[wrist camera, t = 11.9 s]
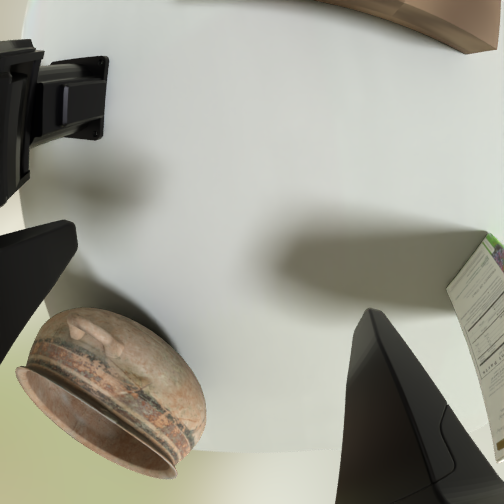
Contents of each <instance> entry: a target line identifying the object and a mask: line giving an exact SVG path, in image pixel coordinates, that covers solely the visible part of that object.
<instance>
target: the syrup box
mask: <svg viewBox="0 0 504 504" xmlns="http://www.w3.org/2000/svg"><path fill="white" fill-rule="evenodd" d="M446 291H447V293H448V295H449V298H450V300H451V302H452V305H453V307H454V310H455V312H456V315H457V318H458V320H459V323H460V325H461V328H462V331H463V334H464V336H465V339H466V342H467V345H468V348H469V351H470V354H471V357H472V360H473V363H474V366H475V369H476V373H477V376H478V380H479V383H480V387H481V391H482V395H483V399H484V403H485V407H486V411H487V415H488V420H489V424H490V430H491V434H492V439H493V445H494V451H495V459H496V461H497V463H502V462H504V245H503V244H502V243H501V242H500V241H499V240H498V239H496V238H495V237H494V236H493V235H492V234H491V233H489V234H487V235H486V237H485V238H484V240H483V241H482V242H481V244H480V245H479V247H478V248H477V249H476V251H475V252H474V253H473V255H472V256H471V257H470V259H469V260H468V261H467V263H466V264H465V265H464V267H463V268H462V269H461V271H460V272H459V273H458V275H457V276H456V277H455V278H454V280H453V281H452V282H451V283H450V285H449V286H448V287H447V288H446Z"/></svg>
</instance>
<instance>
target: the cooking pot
mask: <svg viewBox="0 0 504 504" xmlns="http://www.w3.org/2000/svg"><path fill="white" fill-rule="evenodd" d="M15 372H16V377H17V379H18V381H19V383H20V385H21V386H22V388H23V389H24V391H25V392H26V393H27V395H28V396H29V397H30V399H31V400H32V401H33V402H34V403H35V404H36V405H37V407H39V409H41V411H42V412H43V413H44V414H45V415H46V416H47V417H49V418H50V419H51V420H52V421H53V422H54V423H55V424H56V425H58V426H59V427H60V428H61V429H62V430H64V431H65V432H66V433H67V434H69V435H70V436H72V437H73V438H74V439H75V440H77V441H78V442H80V443H81V444H83V445H84V446H86V447H88V448H89V449H91V450H92V451H94V452H96V453H97V454H99V455H101V456H103V457H104V458H106V459H108V460H110V461H112V462H114V463H116V464H119V465H120V466H123V467H125V468H127V469H130V470H132V471H135V472H138V473H141V474H144V475H147V476H150V477H154V478H159V479H174V478H176V477H177V471H176V468H175V465H176V464H177V463H178V462H180V461H181V460H182V459H183V458H184V457H185V456H186V455H187V454H188V453H189V452H190V451H191V450H192V449H193V447H194V446H195V445H196V444H197V442H198V441H199V439H200V437H201V435H202V433H203V431H204V428H205V425H206V403H205V398H204V395H203V392H202V389H201V386H200V384H199V382H198V380H197V378H196V376H195V375H194V373H193V371H192V370H191V368H190V367H189V366H188V365H187V363H186V362H185V361H184V359H183V358H182V357H181V356H180V355H179V354H178V353H177V352H176V351H175V350H174V349H173V348H172V347H171V346H170V345H169V344H168V343H166V342H165V341H164V340H163V339H162V338H161V337H159V336H158V335H156V334H155V333H154V332H152V331H151V330H149V329H148V328H146V327H144V326H143V325H141V324H139V323H138V322H136V321H133V320H131V319H129V318H127V317H125V316H123V315H120V314H117V313H114V312H111V311H107V310H103V309H98V308H85V307H80V308H75V309H70V310H66V311H63V312H60V313H58V314H56V315H55V316H53V317H52V318H50V319H49V320H48V321H47V322H46V323H45V324H44V325H43V326H42V327H41V329H40V330H39V332H38V334H37V336H36V339H35V341H34V343H33V345H32V348H31V350H30V354H29V357H28V361H27V365H26V367H24V366H20V367H17V368H16V371H15Z"/></svg>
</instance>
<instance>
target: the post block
mask: <svg viewBox="0 0 504 504" xmlns="http://www.w3.org/2000/svg"><path fill="white" fill-rule="evenodd" d="M315 1H320V2H324V3H329V4H333V5H338V6H342V7H346V8H349V9H353V10H357V11H360V12H364V13H367V14H370V15H374V16H377V17H380V18H383V19H386V20H389V21H392V22H394V23H397V24H400V25H402V26H405V27H408V28H410V29H413V30H415V31H418V32H420V33H422V34H425V35H427V36H429V37H431V38H434V39H436V40H438V41H440V42H442V43H444V44H446V45H448V46H450V47H452V48H454V49H456V50H458V51H460V52H462V53H464V54H472V53H478V52H484V51H490V50H497V46H498V37H499V26H500V9H501V0H315Z"/></svg>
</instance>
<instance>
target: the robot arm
mask: <svg viewBox="0 0 504 504" xmlns="http://www.w3.org/2000/svg"><path fill="white" fill-rule="evenodd" d="M44 52H45V51H41V50H36V48H34V47H33V44H32V41H31V39H21V40H8V41H0V207H2V206H3V205H4V204H5V203H6V202H7V200H8V199H9V198H10V197H11V196H12V195H13V194H14V193H15V192H16V191H17V190H18V189H19V188H20V187H21V186H22V185H23V184H24V183H25V182H26V181H27V180H29V179H30V170H29V149H30V148H33V147H36V146H38V145H41V144H44V143H46V142H49V141H52V140H55V139H58V138H61V137H67V138H77V139H87V140H99V139H101V138H102V136H103V128H104V109H105V96H106V85H107V75H108V66H109V58H108V57H107V56H94V57H85V58H76V59H69V60H62V61H56V62H52V63H51V64H50V65H48V66H40V64H41V59H43V56H44ZM102 60H103V64H101V62H102ZM96 131H97V134H98V135H96ZM77 248H78V241H77V234H76V227H75V224H74V223H73V222H71V221H68V220H59V221H55V222H51V223H47V224H43V225H39V226H35V227H31V228H27V229H24V230H19V231H16V232H12V233H9V234H5V235H1V236H0V364H1V363H2V361H3V359H4V358H5V356H6V354H7V353H8V351H9V350H10V348H11V346H12V345H13V343H14V342H15V340H16V338H17V337H18V335H19V334H20V332H21V331H22V330H23V328H24V327H25V325H26V324H27V322H28V321H29V319H30V318H31V316H32V315H33V314H34V312H35V311H36V309H37V308H38V307H39V305H40V304H41V302H42V301H43V300H44V298H45V297H46V296H47V294H48V293H49V292H50V290H51V289H52V287H53V286H54V285H55V283H56V282H57V280H58V279H59V277H60V275H61V274H62V272H63V271H64V269H65V268H66V266H67V265H68V263H69V262H70V260H71V259H72V257H73V256H74V254H75V253H76V251H77ZM335 504H504V482H503V480H501V478H500V477H499V476H498V475H497V473H496V472H495V470H494V469H493V468H492V466H491V465H490V463H489V462H488V461H487V459H486V458H485V456H484V455H483V454H482V452H481V451H480V450H479V448H478V447H477V446H476V444H475V443H474V441H473V440H472V439H471V437H470V436H469V434H468V433H467V432H466V430H465V429H464V427H463V426H462V424H461V423H460V421H459V420H458V418H457V417H456V415H455V414H454V412H453V411H452V409H451V407H450V406H449V405H447V401H446V400H445V398H444V397H443V395H442V394H441V392H440V391H439V389H438V388H437V386H436V385H435V384H434V382H433V381H432V379H431V378H430V376H429V375H428V373H427V372H426V371H425V369H424V368H423V366H422V365H421V363H420V362H419V361H418V359H417V358H416V356H415V355H414V354H413V352H412V351H411V349H410V348H409V347H408V345H407V344H406V342H405V341H404V340H403V338H402V337H401V336H400V334H399V333H398V332H397V330H396V329H395V328H394V326H393V325H392V324H391V322H390V321H389V320H388V318H387V317H386V316H385V314H384V313H383V312H382V311H381V310H377V309H373V308H368V309H366V311H365V312H364V314H363V316H362V318H361V319H360V321H359V323H358V325H357V327H356V329H355V331H354V334H353V341H352V348H351V356H350V363H349V370H348V376H347V383H346V399H345V416H344V430H343V442H342V452H341V462H340V471H339V479H338V487H337V494H336V501H335Z"/></svg>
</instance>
